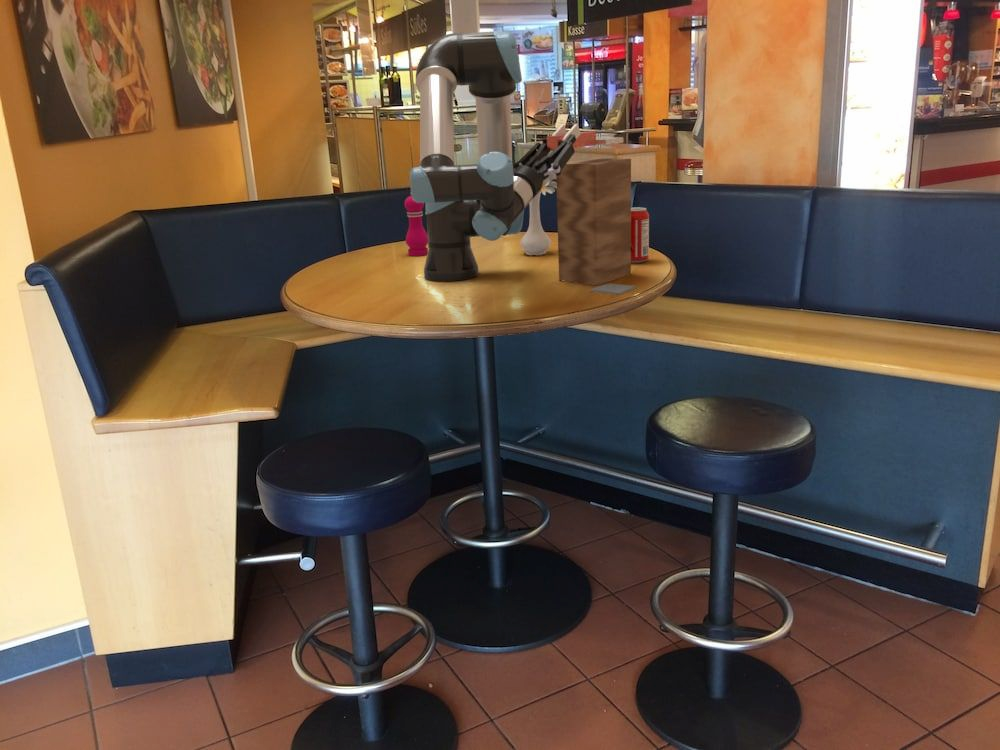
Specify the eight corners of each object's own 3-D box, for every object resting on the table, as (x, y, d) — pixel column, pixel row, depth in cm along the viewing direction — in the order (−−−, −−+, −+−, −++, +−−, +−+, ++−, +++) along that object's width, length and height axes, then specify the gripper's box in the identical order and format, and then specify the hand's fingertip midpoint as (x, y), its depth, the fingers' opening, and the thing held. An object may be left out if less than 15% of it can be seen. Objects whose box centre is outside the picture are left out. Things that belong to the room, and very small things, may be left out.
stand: (559, 280, 219) (556, 163, 209) (593, 269, 230) (592, 157, 220) (596, 285, 211) (595, 164, 201) (630, 273, 222) (631, 158, 213)
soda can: (648, 264, 233) (648, 210, 228) (619, 264, 234) (619, 210, 230) (648, 258, 240) (649, 206, 235) (621, 259, 242) (621, 207, 237)
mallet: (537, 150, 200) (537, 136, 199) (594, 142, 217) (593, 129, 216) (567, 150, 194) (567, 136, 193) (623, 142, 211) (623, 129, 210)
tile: (590, 293, 206) (590, 289, 206) (607, 286, 212) (607, 283, 212) (618, 297, 201) (618, 292, 201) (635, 290, 207) (635, 286, 207)
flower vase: (570, 255, 250) (568, 170, 242) (509, 259, 249) (505, 174, 241) (565, 247, 262) (563, 166, 254) (507, 251, 262) (503, 170, 254)
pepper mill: (428, 255, 261) (423, 191, 254) (405, 256, 261) (399, 192, 255) (430, 251, 268) (425, 188, 261) (408, 252, 268) (403, 189, 262)
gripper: (499, 199, 198) (549, 142, 208) (554, 202, 188) (603, 142, 198) (487, 173, 193) (539, 116, 204) (543, 175, 183) (594, 114, 193)
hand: (571, 129), depth 201 cm, fingers closed on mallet, 3 cm apart
